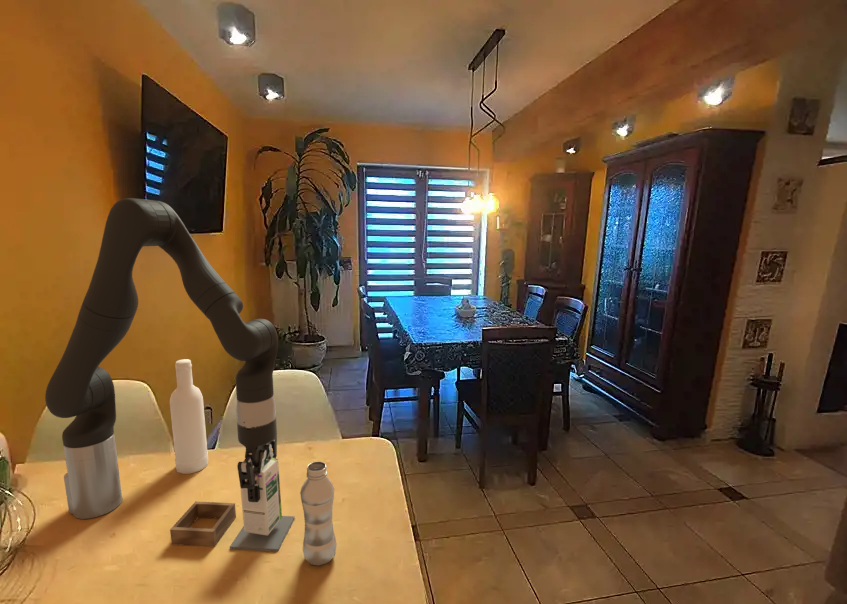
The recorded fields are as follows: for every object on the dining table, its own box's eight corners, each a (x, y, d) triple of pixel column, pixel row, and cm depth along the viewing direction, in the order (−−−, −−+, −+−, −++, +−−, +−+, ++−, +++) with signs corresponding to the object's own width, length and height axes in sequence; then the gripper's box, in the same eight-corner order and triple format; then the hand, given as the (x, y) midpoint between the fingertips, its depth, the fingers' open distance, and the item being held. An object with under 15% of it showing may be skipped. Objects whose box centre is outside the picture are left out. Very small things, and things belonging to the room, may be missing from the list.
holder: (171, 544, 90) (170, 529, 90) (196, 515, 99) (195, 501, 99) (214, 546, 90) (213, 531, 89) (236, 517, 99) (235, 503, 98)
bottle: (196, 455, 124) (187, 354, 119) (215, 462, 121) (206, 359, 115) (169, 469, 117) (158, 362, 112) (188, 477, 114) (178, 367, 108)
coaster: (229, 549, 89) (229, 546, 89) (251, 516, 99) (251, 514, 99) (277, 551, 89) (277, 549, 89) (294, 518, 99) (294, 516, 99)
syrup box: (268, 536, 90) (264, 472, 88) (242, 532, 92) (238, 468, 89) (282, 518, 96) (279, 457, 93) (258, 514, 97) (254, 454, 94)
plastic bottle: (320, 575, 83) (317, 480, 79) (295, 560, 87) (291, 468, 83) (343, 554, 88) (341, 464, 85) (319, 541, 92) (316, 453, 88)
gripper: (254, 402, 96) (258, 471, 100) (220, 433, 82) (226, 512, 85) (287, 403, 96) (290, 472, 99) (259, 434, 82) (264, 514, 85)
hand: (260, 490), depth 92 cm, fingers closed on syrup box, 6 cm apart
